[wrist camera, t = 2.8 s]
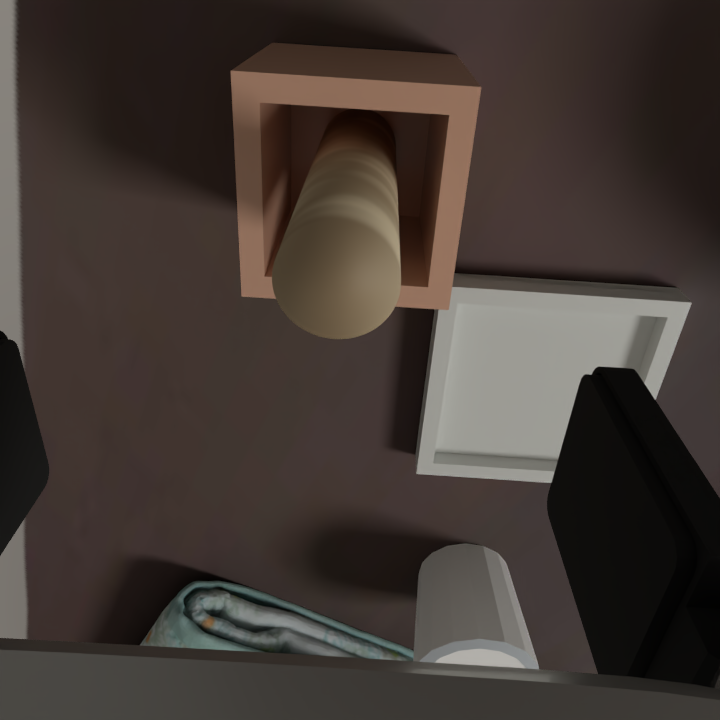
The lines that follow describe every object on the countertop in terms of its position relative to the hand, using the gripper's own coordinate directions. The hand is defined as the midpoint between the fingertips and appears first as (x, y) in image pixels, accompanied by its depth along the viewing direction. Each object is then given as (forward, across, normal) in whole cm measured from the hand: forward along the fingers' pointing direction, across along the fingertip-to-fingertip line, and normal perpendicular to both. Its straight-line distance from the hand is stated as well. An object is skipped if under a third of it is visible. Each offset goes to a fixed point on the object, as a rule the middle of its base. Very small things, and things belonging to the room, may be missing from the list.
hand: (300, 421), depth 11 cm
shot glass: (+19, -8, +26) cm, 33 cm away
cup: (+18, 0, 0) cm, 19 cm away
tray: (+18, -10, +10) cm, 24 cm away
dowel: (+18, 0, 0) cm, 18 cm away
